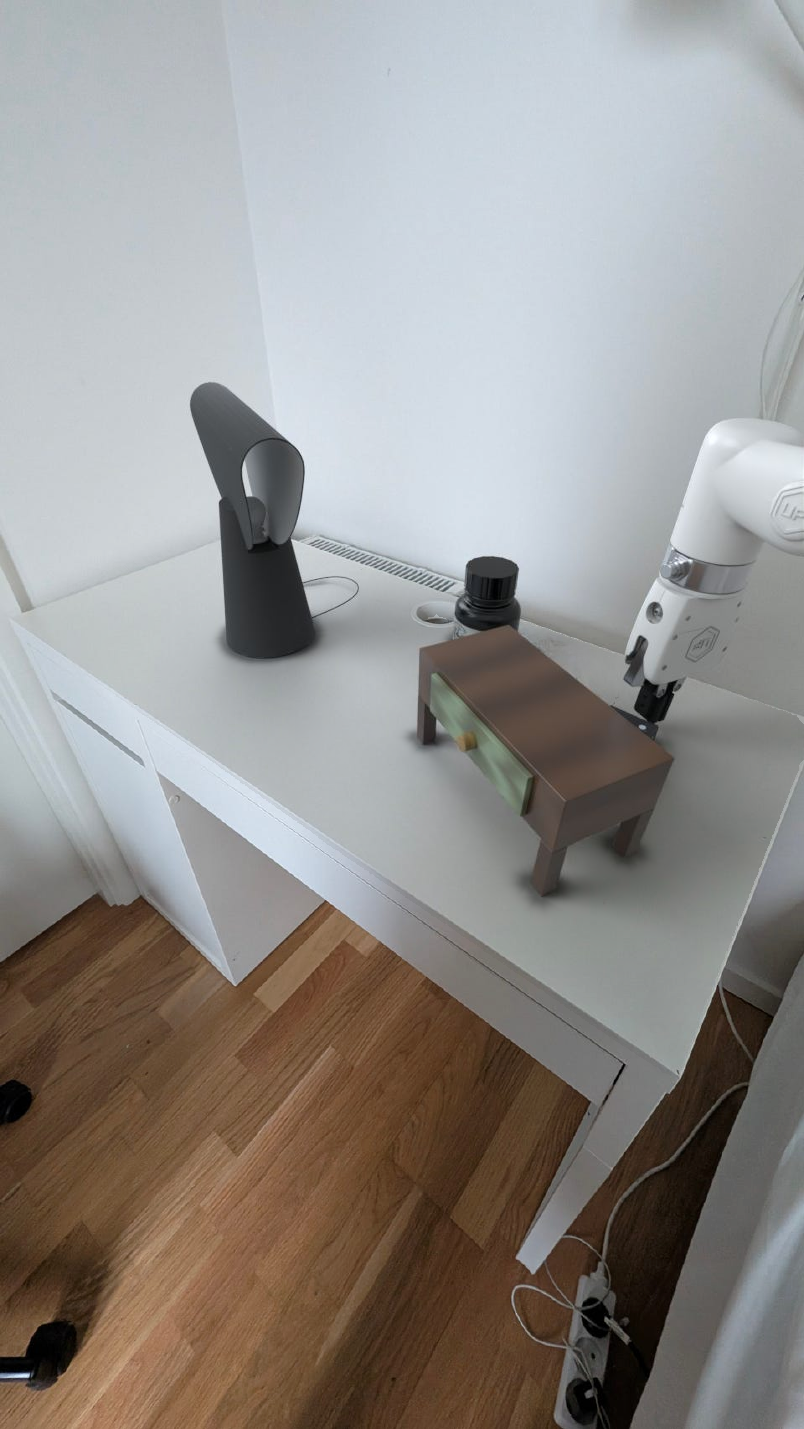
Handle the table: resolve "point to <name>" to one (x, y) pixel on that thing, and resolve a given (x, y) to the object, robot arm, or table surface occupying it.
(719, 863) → the table surface
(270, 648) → the table lamp
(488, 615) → the ink bottle
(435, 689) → the drawer unit
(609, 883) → the table surface
